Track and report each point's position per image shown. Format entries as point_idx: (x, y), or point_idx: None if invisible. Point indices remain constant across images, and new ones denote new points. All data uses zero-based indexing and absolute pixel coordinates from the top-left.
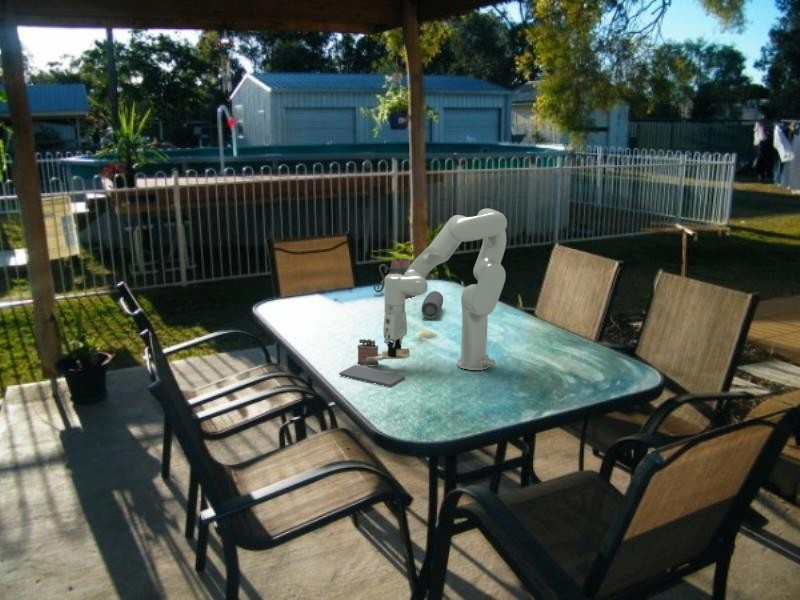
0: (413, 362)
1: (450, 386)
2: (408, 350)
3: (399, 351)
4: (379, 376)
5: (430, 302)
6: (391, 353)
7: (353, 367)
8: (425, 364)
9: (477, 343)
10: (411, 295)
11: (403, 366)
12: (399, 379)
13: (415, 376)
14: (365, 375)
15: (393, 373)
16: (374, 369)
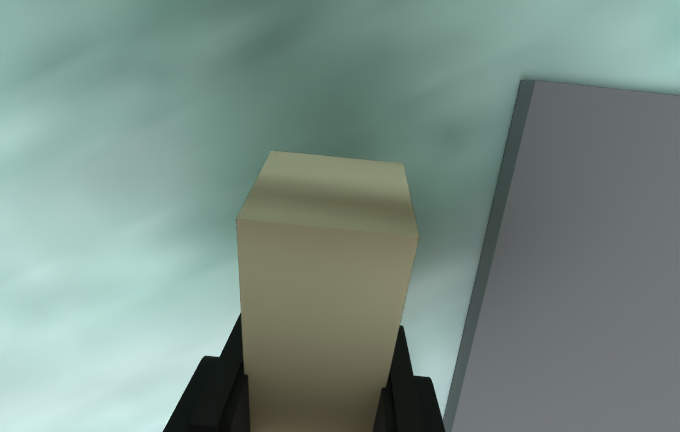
0: (50, 202)
1: None
2: (272, 202)
3: (393, 328)
4: (625, 301)
5: None
6: (433, 407)
7: None
8: (20, 66)
9: None
10: None
11: (200, 240)
12: (653, 93)
13: (403, 9)
14: (630, 407)
15: (503, 221)
16: (461, 403)
